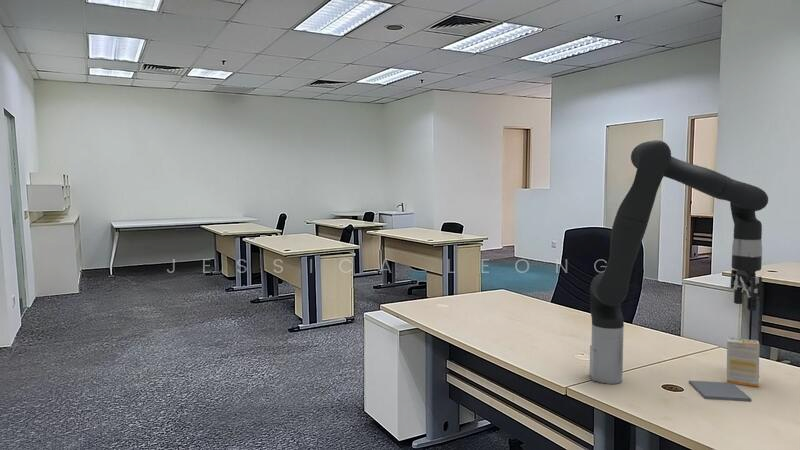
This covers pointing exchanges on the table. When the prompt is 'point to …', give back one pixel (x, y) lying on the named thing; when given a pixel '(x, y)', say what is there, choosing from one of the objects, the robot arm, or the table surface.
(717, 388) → the rubber mat
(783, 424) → the table surface
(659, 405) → the table surface
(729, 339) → the supplement box
